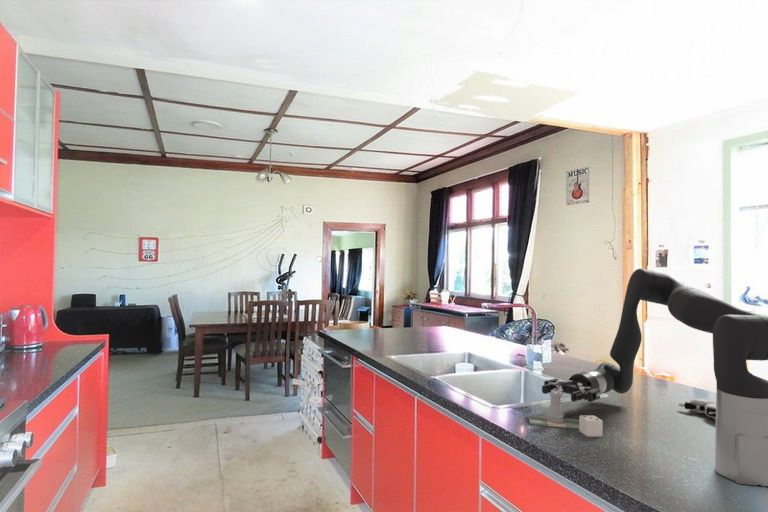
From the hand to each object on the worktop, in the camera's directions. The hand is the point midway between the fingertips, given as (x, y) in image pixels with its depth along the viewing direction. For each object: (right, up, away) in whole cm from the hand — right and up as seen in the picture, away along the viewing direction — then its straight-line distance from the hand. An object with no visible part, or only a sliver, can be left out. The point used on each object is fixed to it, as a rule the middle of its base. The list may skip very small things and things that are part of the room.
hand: (557, 393), depth 126 cm
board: (+1, -8, -1) cm, 8 cm away
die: (+5, -8, -8) cm, 12 cm away
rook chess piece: (-1, -7, -1) cm, 7 cm away
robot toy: (+49, -10, +9) cm, 51 cm away
